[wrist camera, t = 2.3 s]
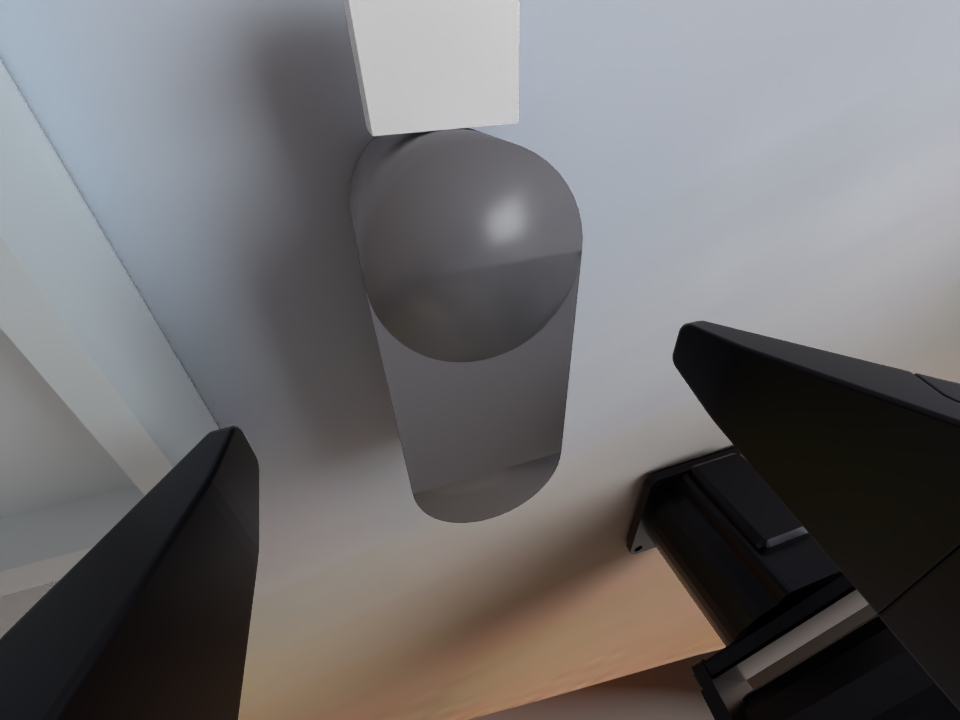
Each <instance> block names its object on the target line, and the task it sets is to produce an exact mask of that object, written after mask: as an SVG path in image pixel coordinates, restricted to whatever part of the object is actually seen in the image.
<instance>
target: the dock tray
mask: <svg viewBox="0 0 960 720" xmlns="http://www.w3.org/2000/svg"><path fill="white" fill-rule="evenodd" d="M218 429H219V427H218V426H217V424H216V422H215V421H214V419H213V417H212V416H211V414H210V412H209V411H208V409H207V407H206V406H205V404H204V402H203V400H202V399H201V397H200V395H199V394H198V392H197V390H196V389H195V387H194V385H193V384H192V382H191V380H190V379H189V377H188V375H187V374H186V372H185V370H184V368H183V367H182V365H181V363H180V362H179V360H178V358H177V357H176V355H175V353H174V352H173V350H172V348H171V347H170V345H169V343H168V341H167V340H166V338H165V336H164V335H163V333H162V331H161V330H160V328H159V326H158V325H157V323H156V321H155V320H154V318H153V316H152V315H151V313H150V311H149V309H148V308H147V306H146V304H145V303H144V301H143V299H142V298H141V296H140V294H139V293H138V291H137V289H136V288H135V286H134V284H133V282H132V281H131V279H130V277H129V276H128V274H127V272H126V271H125V269H124V267H123V266H122V264H121V262H120V261H119V259H118V257H117V256H116V254H115V252H114V250H113V249H112V247H111V245H110V244H109V242H108V240H107V239H106V237H105V235H104V234H103V232H102V230H101V229H100V227H99V225H98V223H97V222H96V220H95V218H94V217H93V215H92V213H91V212H90V210H89V208H88V207H87V205H86V203H85V202H84V200H83V198H82V197H81V195H80V193H79V191H78V190H77V188H76V186H75V185H74V183H73V181H72V180H71V178H70V176H69V175H68V173H67V171H66V170H65V168H64V166H63V164H62V163H61V161H60V159H59V158H58V156H57V154H56V153H55V151H54V149H53V148H52V146H51V144H50V143H49V141H48V139H47V138H46V136H45V134H44V132H43V131H42V129H41V127H40V126H39V124H38V122H37V121H36V119H35V117H34V116H33V114H32V112H31V111H30V109H29V107H28V105H27V104H26V102H25V100H24V99H23V97H22V95H21V94H20V92H19V90H18V89H17V87H16V85H15V84H14V82H13V80H12V79H11V77H10V75H9V73H8V72H7V70H6V68H5V67H4V65H3V63H2V62H1V60H0V597H2V596H6V595H10V594H13V593H17V592H20V591H24V590H28V589H31V588H35V587H38V586H42V585H46V584H49V583H53V582H56V581H59V580H60V579H61V578H62V577H63V576H64V575H65V574H66V573H67V572H68V571H69V570H70V569H71V568H72V567H73V566H74V565H75V564H76V563H77V562H78V561H79V560H80V559H81V558H83V557H84V556H85V555H86V554H87V553H88V552H89V551H90V550H91V549H92V548H93V547H94V546H95V545H96V544H97V543H98V542H99V541H100V540H101V539H102V538H103V537H104V536H105V535H106V534H107V533H108V532H109V531H110V530H111V529H112V528H113V527H114V526H115V525H116V524H117V523H118V522H119V521H120V520H121V519H122V518H123V517H124V516H125V515H126V514H127V513H128V512H129V511H130V510H131V509H132V508H133V507H134V506H135V505H136V504H137V503H138V502H139V501H140V500H141V499H142V498H143V497H144V496H145V495H146V494H147V493H148V492H149V491H150V490H151V489H152V488H153V487H154V486H155V485H156V484H157V483H158V482H159V481H160V480H161V479H162V478H163V477H164V476H165V475H166V474H167V473H168V472H169V471H170V470H171V469H172V468H173V467H174V466H175V465H176V464H177V463H178V462H179V461H180V460H182V459H183V458H184V457H185V456H186V455H187V454H188V453H189V452H190V451H191V450H192V449H193V448H194V447H195V446H196V445H197V444H198V443H199V442H200V441H201V440H202V439H203V438H204V437H205V436H206V435H207V434H208V433H209V432H211V431H214V430H218Z"/></svg>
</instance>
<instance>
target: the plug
mask: <svg viewBox="0 0 960 720" xmlns="http://www.w3.org/2000/svg"><path fill="white" fill-rule="evenodd" d="M343 3H344V8H345V14H346V19H347V24H348V30H349V35H350V41H351V46H352V52H353V57H354V63H355V68H356V74H357V79H358V84H359V90H360V95H361V101H362V106H363V112H364V117H365V123H366V128H367V130H368V131H369V132H370V133H371V135H372V136H376V137H375V138H374V139H373V140H372V141H371V142H370V143H369V144H368V145H367V147H366V148H365V149H364V151H363V152H362V154H361V156H360V157H359V159H358V161H357V164H356V166H355V169H354V171H353V175H352V179H351V184H350V209H351V216H352V221H353V226H354V232H355V237H356V242H357V248H358V253H359V258H360V264H361V269H362V274H363V280H364V285H365V290H366V294H367V298H368V303H369V307H370V311H371V316H372V320H373V324H374V329H375V333H376V337H377V341H378V346H379V350H380V354H381V359H382V363H383V367H384V372H385V376H386V380H387V385H388V389H389V393H390V398H391V402H392V406H393V410H394V415H395V419H396V423H397V428H398V432H399V436H400V441H401V445H402V449H403V454H404V458H405V462H406V466H407V471H408V475H409V479H410V484H411V488H412V492H413V496H414V499H415V501H416V503H417V504H418V506H419V507H420V508H421V509H422V510H423V511H424V512H425V513H426V514H428V515H429V516H431V517H433V518H436V519H439V520H442V521H446V522H454V523H468V522H477V521H482V520H486V519H490V518H493V517H496V516H499V515H502V514H504V513H506V512H508V511H511V510H512V509H514V508H516V507H518V506H520V505H521V504H523V503H524V502H526V501H527V500H529V499H530V498H531V497H533V496H534V495H535V494H536V493H537V492H538V491H539V490H540V489H541V488H542V487H543V486H544V485H545V484H546V483H547V482H548V480H549V479H550V478H551V476H552V475H553V473H554V471H555V469H556V467H557V465H558V462H559V460H560V455H561V448H562V438H563V428H564V419H565V409H566V399H567V390H568V380H569V370H570V361H571V351H572V341H573V332H574V322H575V313H576V303H577V293H578V284H579V274H580V264H581V255H582V225H581V219H580V214H579V210H578V207H577V204H576V201H575V199H574V196H573V194H572V192H571V190H570V189H569V187H568V185H567V183H566V182H565V181H564V179H563V178H562V177H561V175H560V174H559V173H558V171H556V170H555V169H554V168H553V167H552V166H551V165H550V164H549V163H548V162H547V161H546V160H544V159H543V158H541V157H540V156H539V155H537V154H536V153H534V152H532V151H530V150H528V149H526V148H524V147H522V146H519V145H516V144H513V143H510V142H507V141H505V140H502V139H499V138H496V137H493V136H490V135H487V134H485V133H482V132H479V131H476V130H473V129H470V128H471V127H482V126H493V125H504V124H515V123H519V13H520V0H343Z"/></svg>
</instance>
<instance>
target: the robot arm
mask: <svg viewBox="0 0 960 720" xmlns="http://www.w3.org/2000/svg"><path fill="white" fill-rule="evenodd" d="M673 362H674V365H675V367H676V368H677V370H678V371H679V372H680V374H681V375H682V377H683V378H684V380H685V381H686V383H687V384H688V385H689V387H690V388H691V390H692V391H693V393H694V394H695V396H696V397H697V398H698V400H699V401H700V403H701V404H702V406H703V407H704V408H705V410H706V411H707V413H708V414H709V415H710V417H711V418H712V419H713V421H714V422H715V423H716V424H717V426H718V427H719V428H720V429H721V430H722V432H723V433H724V434H725V435H726V436H727V437H728V439H729V440H730V441H731V442H732V443H733V445H734V446H735V448H732V449H729V450H726V451H723V452H719V453H716V454H713V455H710V456H707V457H704V458H700V459H697V460H694V461H691V462H688V463H684V464H681V465H678V466H675V467H672V468H669V469H665V470H662V471H659V472H656V473H654V474H652V475H651V476H649V477H648V478H647V480H646V481H645V484H644V488H643V491H642V494H641V498H640V501H639V504H638V508H637V511H636V514H635V518H634V521H633V524H632V527H631V531H630V534H629V537H628V541H627V544H626V547H627V548H628V550H629V552H630V553H631V554H637V553H639V552H642V551H645V550H648V549H651V548H653V547H657V549H658V550H659V552H660V553H661V554H662V556H663V557H664V559H665V560H666V562H667V563H668V564H669V566H670V567H671V569H672V570H673V572H674V573H675V574H676V576H677V577H678V579H679V580H680V581H681V583H682V584H683V586H684V587H685V589H686V590H687V591H688V593H689V594H690V596H691V597H692V599H693V600H694V601H695V603H696V604H697V606H698V607H699V608H700V610H701V611H702V613H703V614H704V616H705V617H706V618H707V620H708V621H709V623H710V624H711V626H712V627H713V628H714V630H715V631H716V633H717V634H718V635H719V637H720V638H721V640H722V641H723V643H724V644H725V645H726V647H725V648H724V649H722V650H721V651H719V652H718V653H716V654H715V655H713V656H712V657H710V658H708V659H707V660H704V659H702V660H700V661H698V662H697V663H695V664H694V665H692V670H693V672H694V675H693V676H694V678H695V679H696V681H697V683H698V684H699V686H700V687H701V693H702V695H703V697H704V699H705V701H706V703H707V705H708V707H709V709H710V711H711V713H712V715H713V717H714V718H715V720H960V384H959V383H954V382H950V381H946V380H942V379H938V378H934V377H930V376H925V375H921V374H917V373H916V374H913V373H911V372H909V371H905V370H901V369H897V368H893V367H889V366H885V365H880V364H876V363H872V362H868V361H864V360H860V359H856V358H852V357H848V356H844V355H840V354H836V353H832V352H828V351H824V350H820V349H815V348H811V347H807V346H803V345H799V344H795V343H791V342H787V341H783V340H779V339H775V338H771V337H767V336H763V335H759V334H755V333H751V332H746V331H742V330H738V329H734V328H730V327H726V326H722V325H718V324H714V323H710V322H706V321H696V322H691V323H687V324H685V325H683V326H682V327H681V328H680V331H679V334H678V337H677V341H676V345H675V348H674V352H673ZM258 553H259V465H258V461H257V458H256V456H255V454H254V452H253V450H252V448H251V447H250V445H249V443H248V441H247V439H246V438H245V436H244V434H243V432H242V431H241V429H240V428H238V427H236V426H231V427H227V428H222V429H218V430H214V431H211V432H209V433H208V434H207V435H206V436H205V437H204V438H203V439H202V440H201V441H200V442H199V443H198V444H197V445H196V446H195V447H194V448H193V449H192V450H191V451H190V452H189V453H188V454H187V455H186V456H185V457H184V458H183V459H182V460H180V461H179V462H178V463H177V464H176V465H175V466H174V467H173V468H172V469H171V470H170V471H169V472H168V473H167V474H166V475H165V476H164V477H163V478H162V479H161V480H160V481H159V482H158V483H157V484H156V485H155V486H154V487H153V488H152V489H151V490H150V491H149V492H148V493H147V494H146V495H145V496H144V497H143V498H142V499H141V500H140V501H139V502H138V503H137V504H136V505H135V506H134V507H133V508H132V509H131V510H130V511H129V512H128V513H127V514H126V515H125V516H124V517H123V518H122V519H121V520H120V521H119V522H118V523H117V524H116V525H115V526H114V527H113V528H112V529H111V530H110V531H109V532H108V533H107V534H106V535H105V536H104V537H103V538H102V539H101V540H100V541H99V542H98V543H97V544H96V545H95V546H94V547H93V548H92V549H91V550H90V551H89V552H88V553H87V554H86V555H85V556H84V557H83V558H81V559H80V560H79V561H78V562H77V563H76V564H75V565H74V566H73V567H72V568H71V569H70V570H69V571H68V572H67V573H66V574H65V575H64V576H63V577H62V578H61V579H60V580H59V581H58V582H57V583H56V584H55V585H54V586H53V587H52V588H51V589H50V590H49V591H48V592H47V593H46V594H45V595H44V596H43V597H42V598H41V599H40V600H39V601H38V602H37V603H36V604H35V605H34V606H33V607H32V608H31V609H30V610H29V611H28V612H27V613H26V614H25V615H24V616H23V617H22V618H21V619H20V620H19V621H18V622H17V623H16V624H15V625H14V626H13V627H12V628H11V629H10V630H9V631H8V632H7V633H6V634H5V635H4V636H3V637H2V638H1V639H0V720H238V714H239V706H240V698H241V690H242V682H243V674H244V667H245V659H246V651H247V643H248V635H249V627H250V619H251V611H252V603H253V595H254V587H255V579H256V571H257V563H258ZM868 604H869V605H870V606H871V607H872V608H873V609H874V611H875V612H876V613H878V614H877V615H875V616H873V617H872V618H870V619H868V620H867V621H865V622H863V623H862V624H860V625H858V626H857V627H855V628H854V629H852V630H850V631H849V632H847V633H846V634H844V635H842V636H841V637H839V638H837V639H836V640H834V641H832V642H831V643H829V644H827V645H826V646H824V647H822V648H821V649H819V650H818V651H816V652H814V653H813V654H811V655H809V656H808V657H806V658H804V659H803V660H801V661H799V662H798V663H796V664H795V665H793V666H791V667H790V668H788V669H786V670H785V671H783V672H782V673H780V674H778V675H776V676H775V677H773V678H772V679H770V680H768V681H767V682H765V683H763V684H762V685H760V686H759V687H757V688H755V689H754V690H753V689H752V688H751V686H750V685H749V684H748V682H747V681H746V680H747V679H748V678H750V677H752V676H753V675H755V674H757V673H758V672H760V671H761V670H763V669H765V668H766V667H768V666H770V665H771V664H773V663H774V662H776V661H778V660H779V659H781V658H782V657H784V656H786V655H787V654H789V653H791V652H792V651H794V650H795V649H797V648H799V647H800V646H802V645H803V644H805V643H807V642H808V641H810V640H811V639H813V638H815V637H816V636H818V635H819V634H821V633H823V632H824V631H826V630H828V629H829V628H831V627H832V626H834V625H836V624H837V623H839V622H841V621H842V620H844V619H845V618H847V617H849V616H850V615H852V614H853V613H855V612H857V611H858V610H860V609H862V608H863V607H865V606H867V605H868Z"/></svg>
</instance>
